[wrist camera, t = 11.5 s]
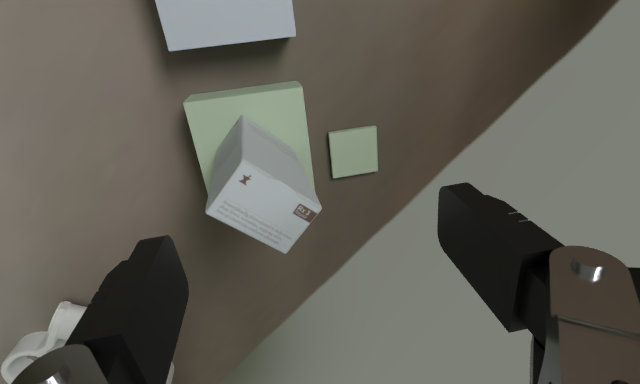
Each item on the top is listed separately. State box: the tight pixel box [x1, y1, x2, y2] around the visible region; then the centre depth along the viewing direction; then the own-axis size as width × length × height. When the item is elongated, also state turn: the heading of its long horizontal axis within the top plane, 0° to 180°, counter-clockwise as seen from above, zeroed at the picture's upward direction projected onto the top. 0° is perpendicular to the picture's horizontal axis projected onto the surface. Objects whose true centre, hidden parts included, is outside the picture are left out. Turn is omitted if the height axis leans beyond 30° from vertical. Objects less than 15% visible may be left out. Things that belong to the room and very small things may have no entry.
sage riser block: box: [183, 81, 315, 194], centre depth 34 cm, size 10×10×4 cm
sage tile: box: [328, 125, 378, 178], centre depth 38 cm, size 5×5×1 cm
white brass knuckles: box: [1, 301, 174, 384], centre depth 42 cm, size 3×18×15 cm
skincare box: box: [205, 114, 322, 254], centre depth 26 cm, size 6×4×12 cm
